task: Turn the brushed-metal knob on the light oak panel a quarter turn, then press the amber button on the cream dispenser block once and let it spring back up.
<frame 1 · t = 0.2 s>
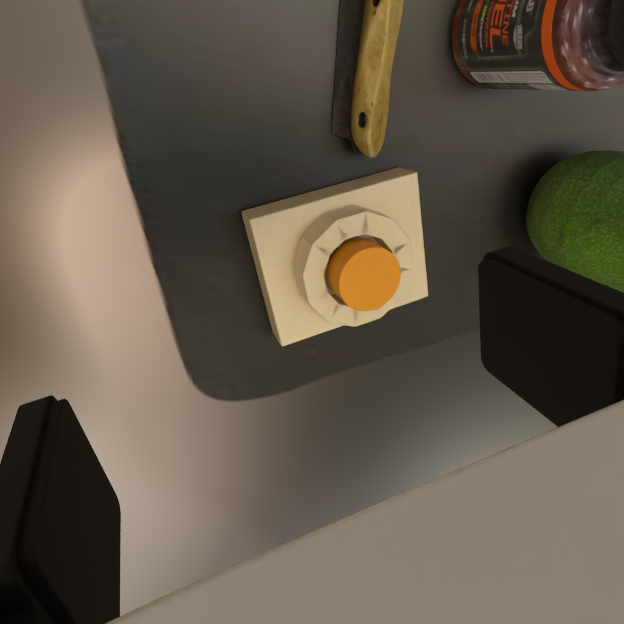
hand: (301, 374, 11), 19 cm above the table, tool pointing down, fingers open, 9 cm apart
button box: (334, 251, 31), on the table
fruit: (545, 201, 35), on the table
button: (363, 274, 27), point 4 cm above the table, slide at 0.1 cm
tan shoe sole: (366, 20, 27), on the table
supplement bottle: (488, 33, 29), on the table
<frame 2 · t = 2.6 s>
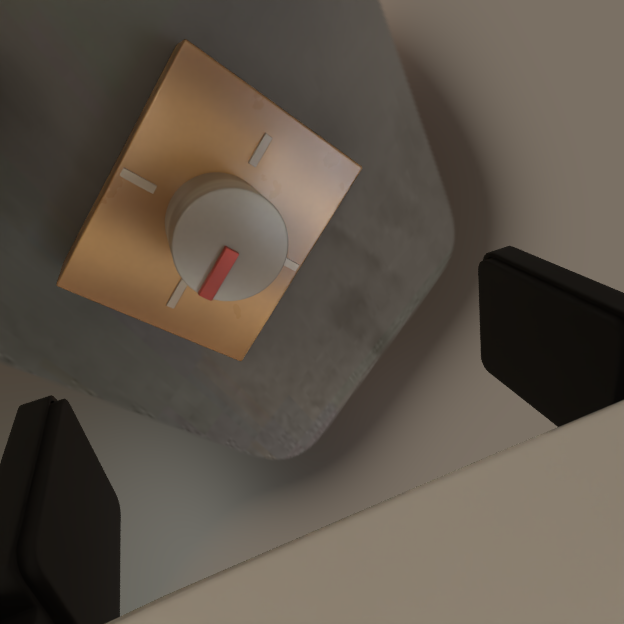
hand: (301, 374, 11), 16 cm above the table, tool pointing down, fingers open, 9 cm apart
dial panel: (207, 208, 24), on the table
knob: (225, 235, 20), point 5 cm above the table, hinge at 0.0°
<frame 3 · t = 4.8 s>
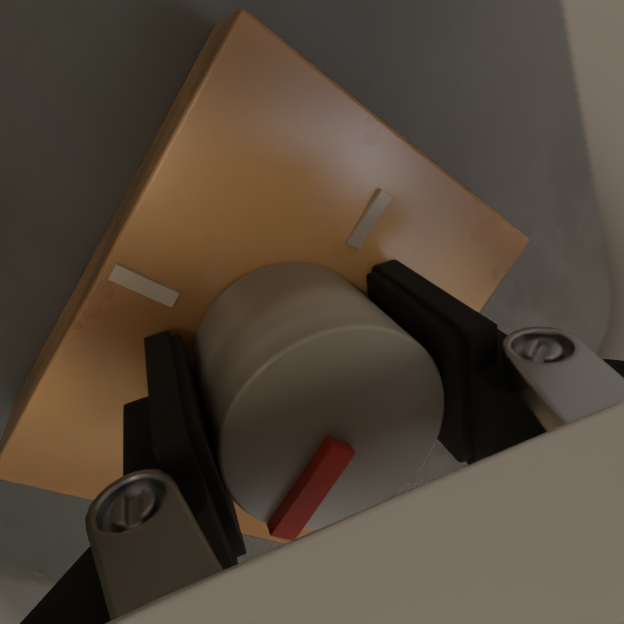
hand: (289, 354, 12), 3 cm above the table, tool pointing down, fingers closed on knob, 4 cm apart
dial panel: (257, 301, 15), on the table
knob: (311, 390, 10), point 5 cm above the table, hinge at -0.1°, touching gripper
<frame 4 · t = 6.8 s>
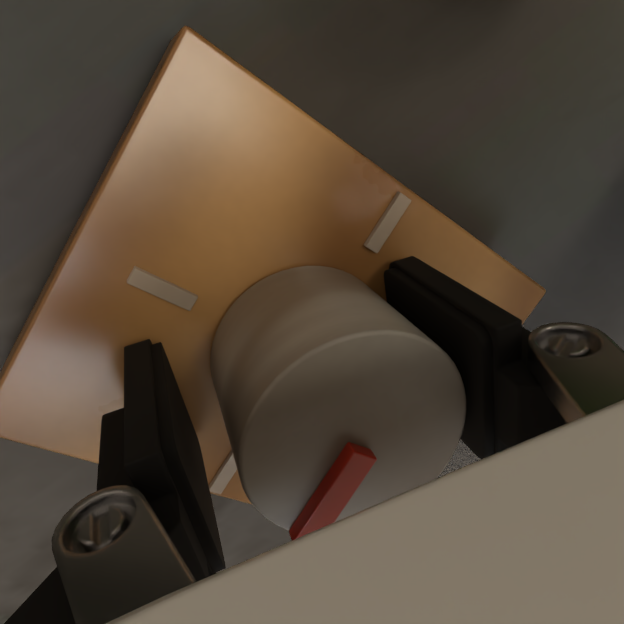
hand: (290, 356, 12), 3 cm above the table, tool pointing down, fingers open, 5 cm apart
dial panel: (271, 304, 15), on the table
knob: (330, 394, 10), point 5 cm above the table, hinge at 91.5°
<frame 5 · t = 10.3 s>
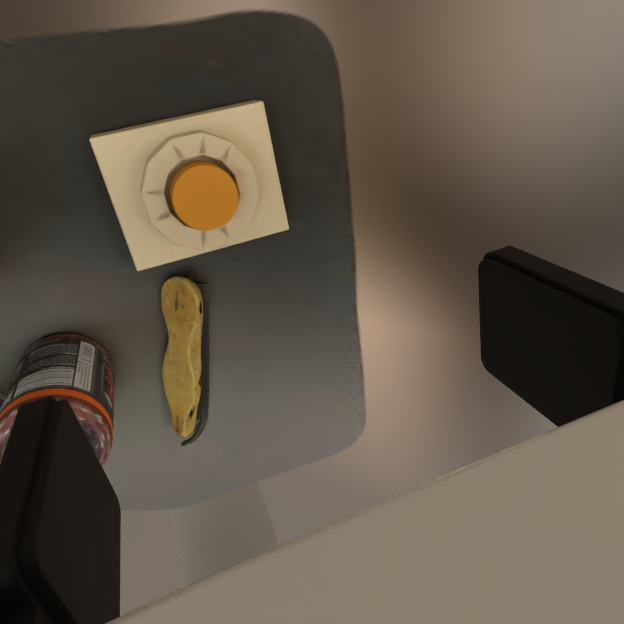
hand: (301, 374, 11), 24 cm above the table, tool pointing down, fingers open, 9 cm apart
button box: (194, 182, 32), on the table
button: (203, 195, 28), point 4 cm above the table, slide at 0.1 cm
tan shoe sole: (185, 356, 37), on the table
supplement bottle: (68, 367, 34), on the table
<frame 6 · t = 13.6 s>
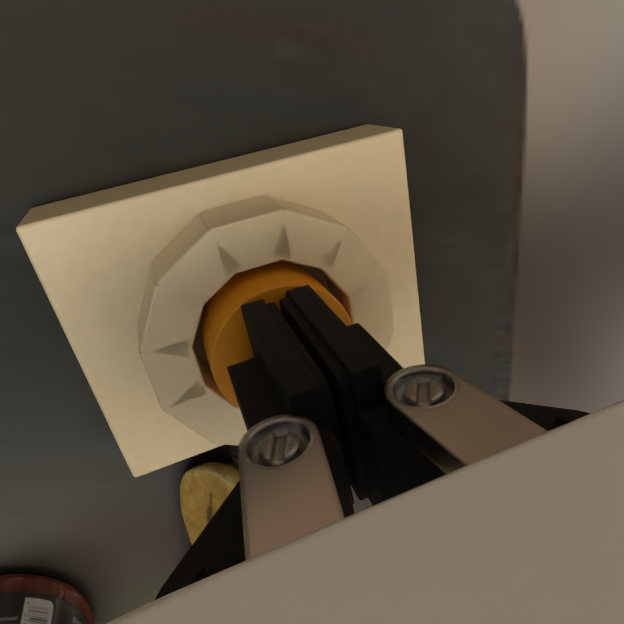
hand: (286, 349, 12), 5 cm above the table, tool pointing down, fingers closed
button box: (245, 287, 16), on the table
button: (276, 338, 13), point 4 cm above the table, slide at -0.5 cm, touching gripper
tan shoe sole: (221, 568, 21), on the table
supplement bottle: (8, 620, 19), on the table
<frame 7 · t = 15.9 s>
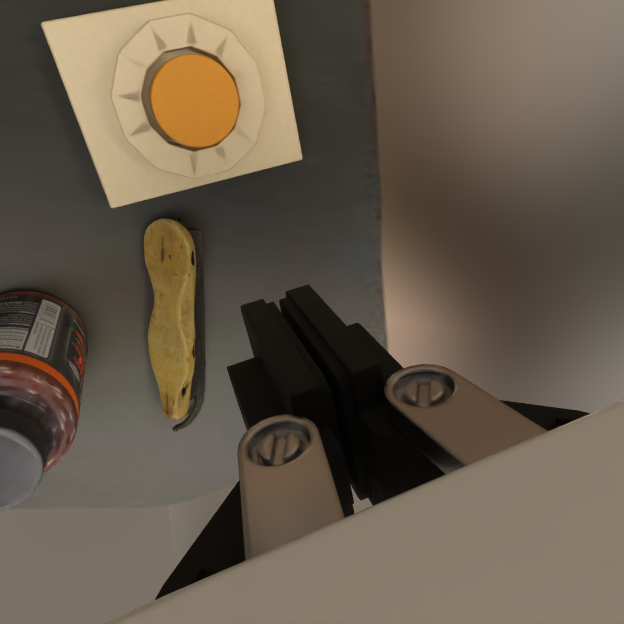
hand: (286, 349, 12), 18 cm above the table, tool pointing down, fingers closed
button box: (183, 97, 25), on the table
button: (193, 101, 22), point 4 cm above the table, slide at 0.1 cm
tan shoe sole: (176, 322, 30), on the table
supplement bottle: (30, 334, 28), on the table
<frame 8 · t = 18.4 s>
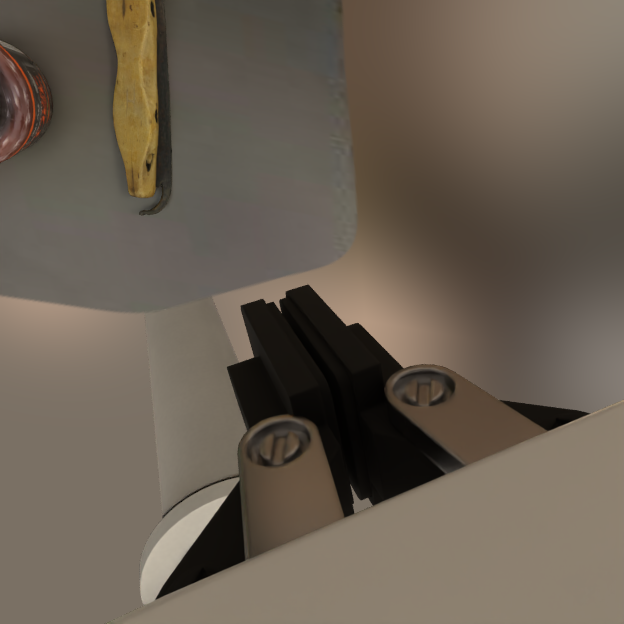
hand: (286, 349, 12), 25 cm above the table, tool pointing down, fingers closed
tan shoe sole: (141, 102, 31), on the table
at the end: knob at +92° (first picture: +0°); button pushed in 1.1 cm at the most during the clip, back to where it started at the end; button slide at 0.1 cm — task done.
